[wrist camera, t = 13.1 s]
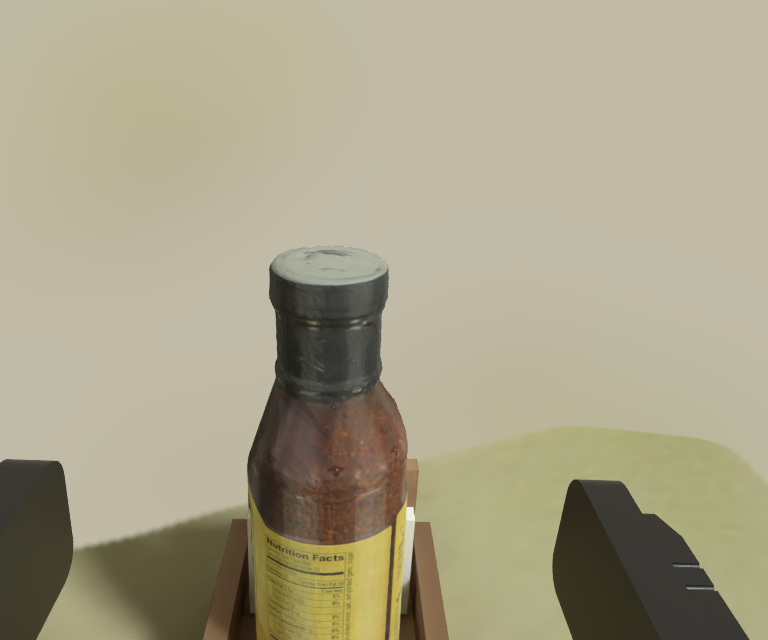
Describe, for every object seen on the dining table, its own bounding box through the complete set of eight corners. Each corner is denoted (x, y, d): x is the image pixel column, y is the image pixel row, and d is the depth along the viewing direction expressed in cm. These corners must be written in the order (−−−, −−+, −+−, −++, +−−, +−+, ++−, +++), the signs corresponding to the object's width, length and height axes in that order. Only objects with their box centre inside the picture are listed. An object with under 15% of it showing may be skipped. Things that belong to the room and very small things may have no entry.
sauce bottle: (322, 600, 35) (332, 223, 27) (422, 666, 31) (465, 257, 24) (223, 686, 30) (201, 255, 22) (329, 775, 27) (345, 304, 19)
